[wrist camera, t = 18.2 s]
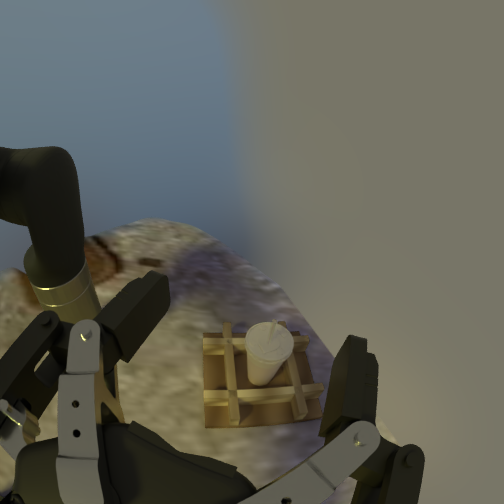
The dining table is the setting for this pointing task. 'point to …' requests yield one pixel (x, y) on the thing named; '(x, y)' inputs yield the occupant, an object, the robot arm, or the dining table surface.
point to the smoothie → (266, 350)
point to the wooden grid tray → (252, 396)
